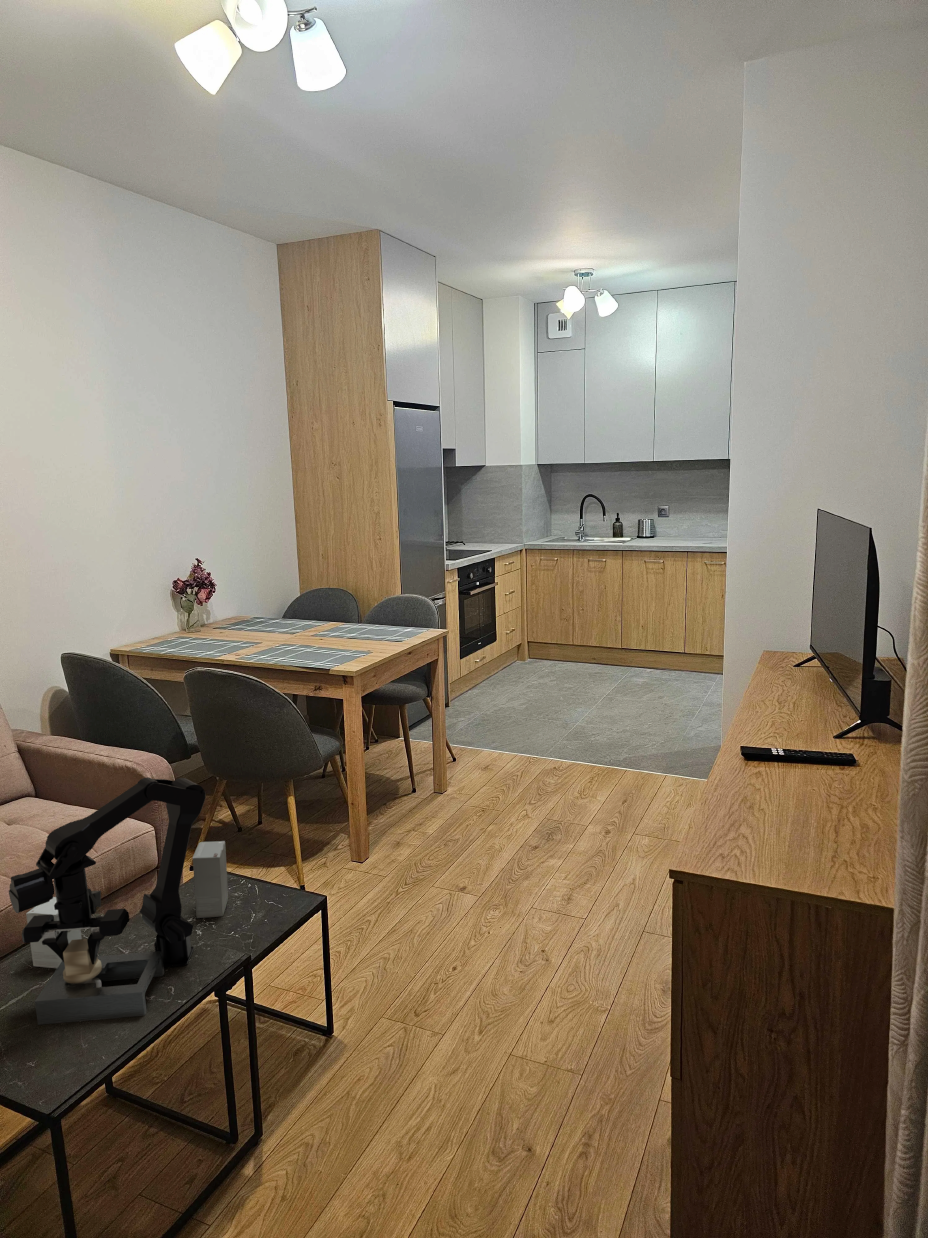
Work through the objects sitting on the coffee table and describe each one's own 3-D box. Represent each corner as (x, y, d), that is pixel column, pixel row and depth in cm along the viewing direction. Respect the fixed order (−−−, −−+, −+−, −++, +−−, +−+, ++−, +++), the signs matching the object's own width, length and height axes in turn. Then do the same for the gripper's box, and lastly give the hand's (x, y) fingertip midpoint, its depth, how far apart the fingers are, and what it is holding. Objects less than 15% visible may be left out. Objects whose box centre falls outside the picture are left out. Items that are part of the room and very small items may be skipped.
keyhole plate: (164, 972, 174) (161, 951, 173) (144, 1015, 160) (141, 992, 159) (66, 981, 172) (63, 959, 172) (38, 1025, 159) (34, 1001, 158)
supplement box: (62, 969, 177) (55, 915, 174) (32, 967, 178) (24, 913, 176) (84, 950, 184) (77, 897, 181) (55, 947, 185) (48, 895, 183)
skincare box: (202, 902, 203) (196, 841, 200) (232, 899, 203) (226, 838, 201) (195, 920, 194) (188, 857, 192) (226, 917, 195) (220, 854, 192)
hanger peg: (109, 981, 169) (103, 934, 168) (97, 1002, 163) (90, 954, 161) (74, 984, 169) (67, 937, 167) (60, 1005, 162) (53, 957, 160)
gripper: (133, 869, 171) (142, 938, 173) (40, 876, 169) (50, 945, 172) (115, 896, 160) (124, 969, 162) (15, 904, 158) (26, 978, 161)
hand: (81, 964), depth 165 cm, fingers closed on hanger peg, 4 cm apart
